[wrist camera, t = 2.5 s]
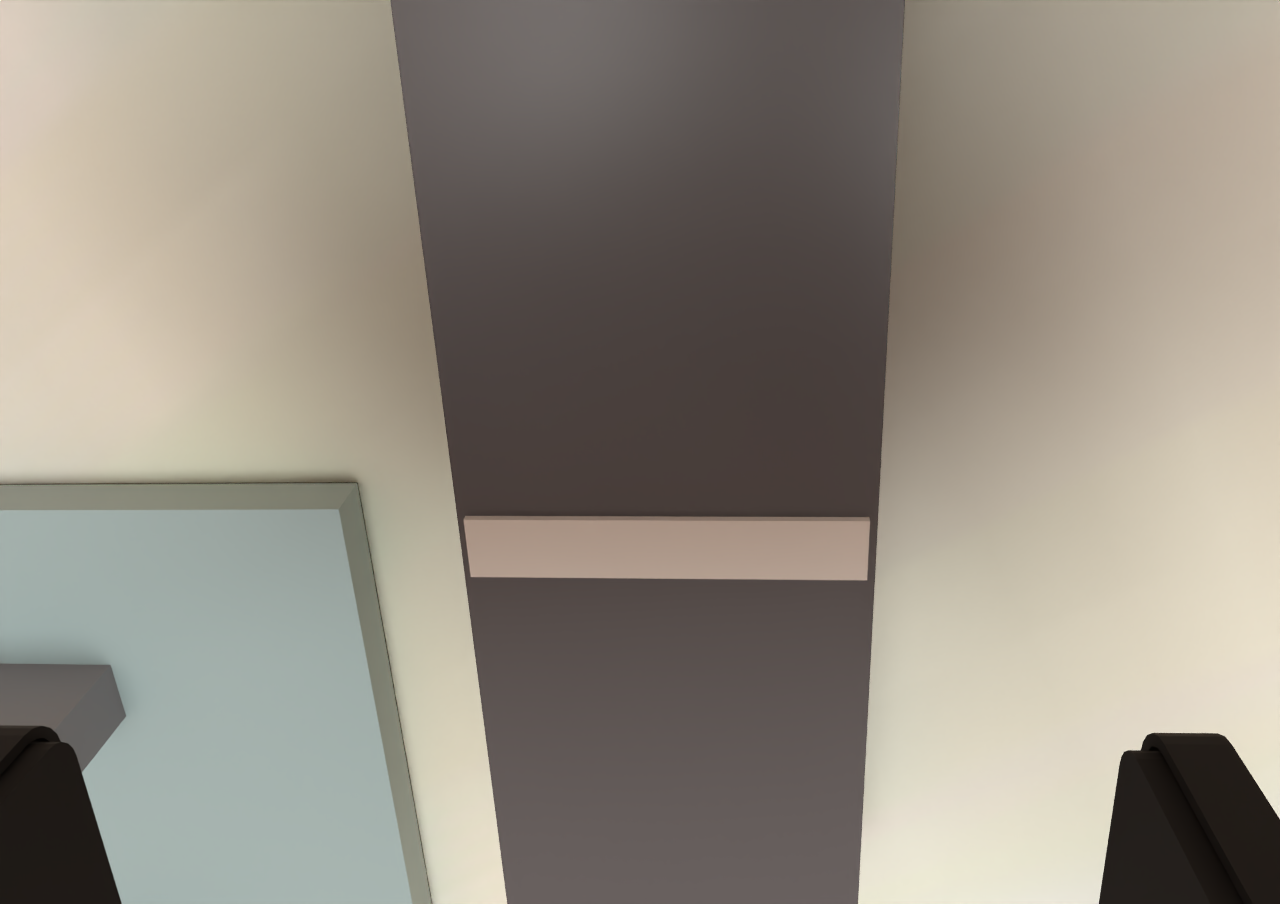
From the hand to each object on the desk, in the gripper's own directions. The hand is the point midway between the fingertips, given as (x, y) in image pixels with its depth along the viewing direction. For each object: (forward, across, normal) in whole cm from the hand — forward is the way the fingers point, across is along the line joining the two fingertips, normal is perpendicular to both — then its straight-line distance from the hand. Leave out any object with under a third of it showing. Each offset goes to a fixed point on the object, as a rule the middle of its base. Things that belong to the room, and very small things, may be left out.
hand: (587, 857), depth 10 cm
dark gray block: (+10, -1, -1) cm, 10 cm away
